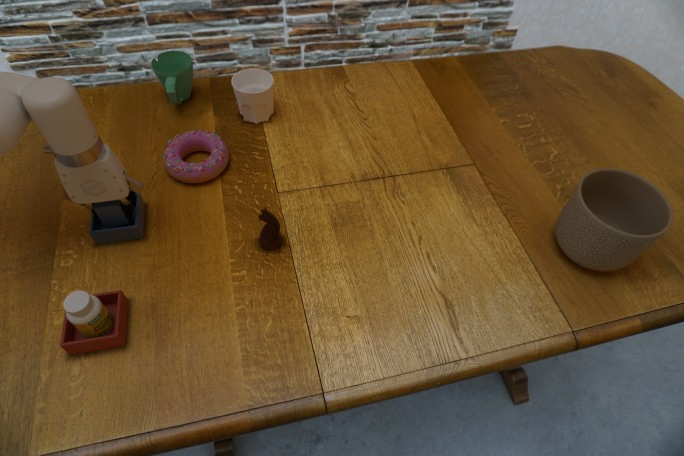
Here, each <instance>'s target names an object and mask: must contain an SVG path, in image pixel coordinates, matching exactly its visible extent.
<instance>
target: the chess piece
mask: <svg viewBox="0 0 684 456" xmlns="http://www.w3.org/2000/svg"><path fill="white" fill-rule="evenodd" d="M260 213H261V214H259V215H257V217H258V219H259V221H262V222H263V223H265V225H263V227H262V228H261V231H260V234H259V238H258V241H259V245H260V246H261V248H262V249H264V250H266V251H275V250H277V249H278V248H280V247H281V245H282V243H283V237H282V233H280V232H281V224H280V222H279V219H278V218H277V216H275V214H274V213H272V212H271V211H269V210H268V209H267V208H266V207H264V209H261V210H260Z"/></svg>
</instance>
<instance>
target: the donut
mask: <svg viewBox="0 0 684 456" xmlns="http://www.w3.org/2000/svg"><path fill="white" fill-rule="evenodd" d="M196 152H206V153H209V154H210V155H209V156H208V157H207V158H206V159H204V160H202V161H200V162H199V161H197V162H186V161H184V158H185V157H187V156H188V155H190V154H191V153H196ZM162 156H163V163H164V168H165V169H166V171H167V172H168V174H169V175H170V176H171V177H172V178H174V179H175V180H177V181H179V182H182V183H187V184H200V183H205V182H208V181H211V180H213V179H215V178H217V177H218V176H219V175H221V174H222V173H223V172H224V171H225V170H226V168H227V166H228V163H229V160H230V155H229V149H228V146H227V144H226V143H225V141H224V139H223V138H221V137H220V135H219V134H218V133H216V132H212V131H210V130H207V129H206V130H205V129H200V130H199V129H196V130H195V129H194V130H193V129H192V130H189V131H185V132H183V133H180V134H179V133H178V134H177V135H175V136H174V137H173V138H170V139H168V142H167V144H166V145H165V146H164V152H163V154H162Z"/></svg>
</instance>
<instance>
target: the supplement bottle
mask: <svg viewBox="0 0 684 456" xmlns="http://www.w3.org/2000/svg"><path fill="white" fill-rule="evenodd" d="M62 306H63V309H64V311H66V316H67V318H68V320H69V321H70V322H71V323H72V324H73V325H74V326H75V327H76V328H77V329H78V330H79V331H80V332H81V333H82V334H83V335H84V336H85V337H87V338H88V339H90V338H96V337H102V336H106V335H107V334H109V333H110V331H111V330H112V328H113V326H114V319H113V316H112V315H111V313H110V312H109V311H108V310H107V309H106V307H105V306H104V305H103V304H102V302H101V301H100V300H99V299H98V298H97V297H96V296H94V295H92V294H90V293H88V292H87V291H85V290H74V291H72V292H70V293H69V294H68V295H67V296H66V297H65V299H64V300H63V303H62Z"/></svg>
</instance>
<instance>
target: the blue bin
mask: <svg viewBox="0 0 684 456" xmlns="http://www.w3.org/2000/svg"><path fill="white" fill-rule="evenodd" d="M131 201H132V203H133V205H134V212H132V218H130V219H129V224H126V225H119V226H111V227H105V226H104V225H103V223H102V222H100V221H99V220H98V218H97V217H95V216H94V215H93V213H92V212H91V214H90V221H89V228H88V235H89V236H90V238H91V239H92V241H93V242H94V243H95V245H97V246H98V245H104V244H105V245H106V244H112V243H119V242H126V241H133V240H140V239H144V233H145V212H146V211H145V210H146V204H145V202H144V200H143V197H142V195H141V193H140V192H138V193H136V194H135V196H134V197H133V199H132V200H131Z"/></svg>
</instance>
